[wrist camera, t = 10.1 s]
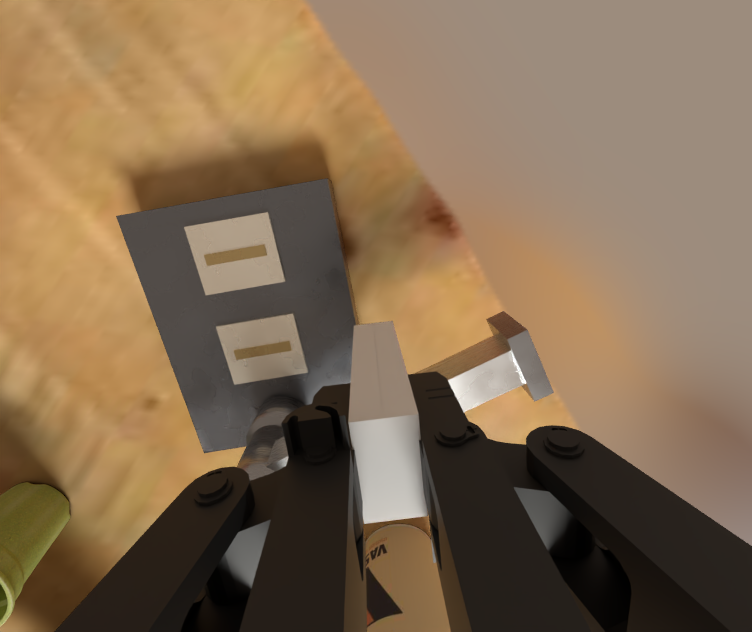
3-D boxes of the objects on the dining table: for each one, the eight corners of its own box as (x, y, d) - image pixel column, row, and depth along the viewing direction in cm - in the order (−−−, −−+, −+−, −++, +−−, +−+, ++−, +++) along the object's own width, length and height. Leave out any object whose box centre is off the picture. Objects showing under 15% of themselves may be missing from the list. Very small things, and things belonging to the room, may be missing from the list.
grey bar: (269, 476, 28) (245, 546, 22) (237, 433, 27) (202, 496, 21) (520, 358, 26) (564, 403, 20) (497, 305, 24) (537, 337, 19)
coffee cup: (373, 506, 37) (377, 641, 26) (455, 530, 39) (493, 669, 27) (342, 570, 40) (333, 718, 28) (420, 591, 41) (441, 740, 30)
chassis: (218, 433, 34) (188, 480, 29) (141, 214, 28) (84, 217, 23) (375, 408, 34) (377, 449, 28) (331, 180, 28) (322, 175, 22)
